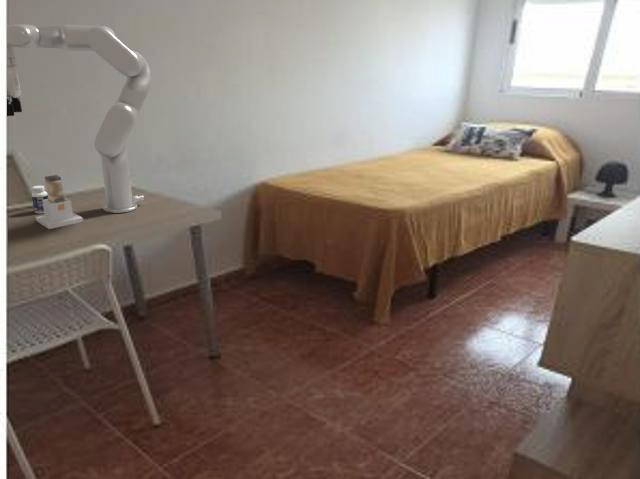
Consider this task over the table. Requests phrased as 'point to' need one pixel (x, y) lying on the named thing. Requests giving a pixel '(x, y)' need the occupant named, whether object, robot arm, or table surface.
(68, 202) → the white stand
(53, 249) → the table surface
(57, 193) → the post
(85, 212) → the table surface
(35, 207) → the pill bottle
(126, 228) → the table surface
